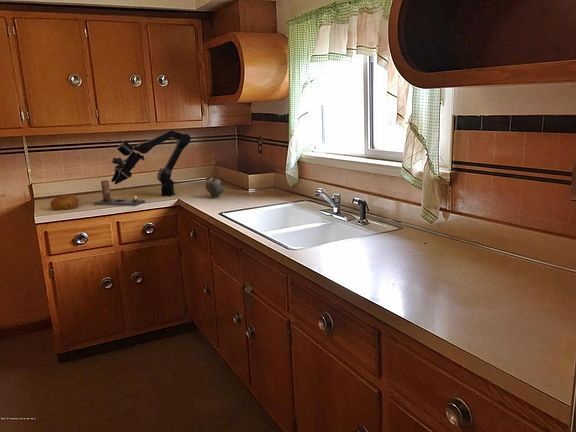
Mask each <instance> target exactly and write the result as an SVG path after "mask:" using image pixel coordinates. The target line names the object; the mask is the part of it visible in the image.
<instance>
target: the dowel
mask: <svg viewBox="0 0 576 432" xmlns="http://www.w3.org/2000/svg"><path fill="white" fill-rule="evenodd" d="M100 185H101V193H102V199H103V202H109V201H111V199H112V198H111V190H110V180H107V179H106V180H101V181H100Z"/></svg>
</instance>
